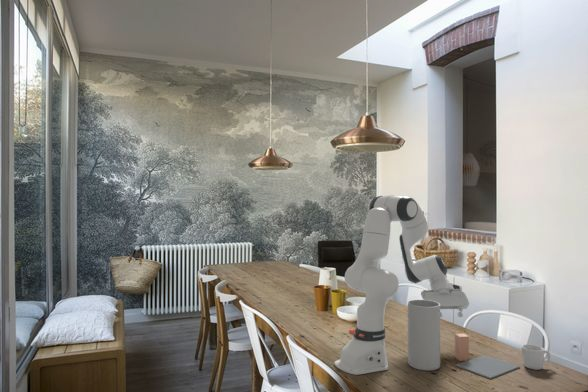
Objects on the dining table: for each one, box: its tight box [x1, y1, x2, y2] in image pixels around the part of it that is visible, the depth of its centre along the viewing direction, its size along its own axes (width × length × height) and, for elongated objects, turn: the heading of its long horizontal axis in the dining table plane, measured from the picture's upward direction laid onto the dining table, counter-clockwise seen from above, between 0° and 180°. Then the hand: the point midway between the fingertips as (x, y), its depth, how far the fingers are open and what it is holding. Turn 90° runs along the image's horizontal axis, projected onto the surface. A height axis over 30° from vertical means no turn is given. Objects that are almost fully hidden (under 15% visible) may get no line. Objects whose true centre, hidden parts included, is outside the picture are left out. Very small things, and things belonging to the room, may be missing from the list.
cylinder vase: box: [407, 299, 441, 372], centre depth 172 cm, size 12×12×25 cm
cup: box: [521, 344, 551, 371], centre depth 170 cm, size 11×8×8 cm
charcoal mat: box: [455, 354, 520, 380], centre depth 170 cm, size 20×15×1 cm
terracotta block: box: [454, 333, 470, 362], centre depth 179 cm, size 4×4×10 cm
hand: (450, 316), depth 190 cm, fingers open, 8 cm apart
